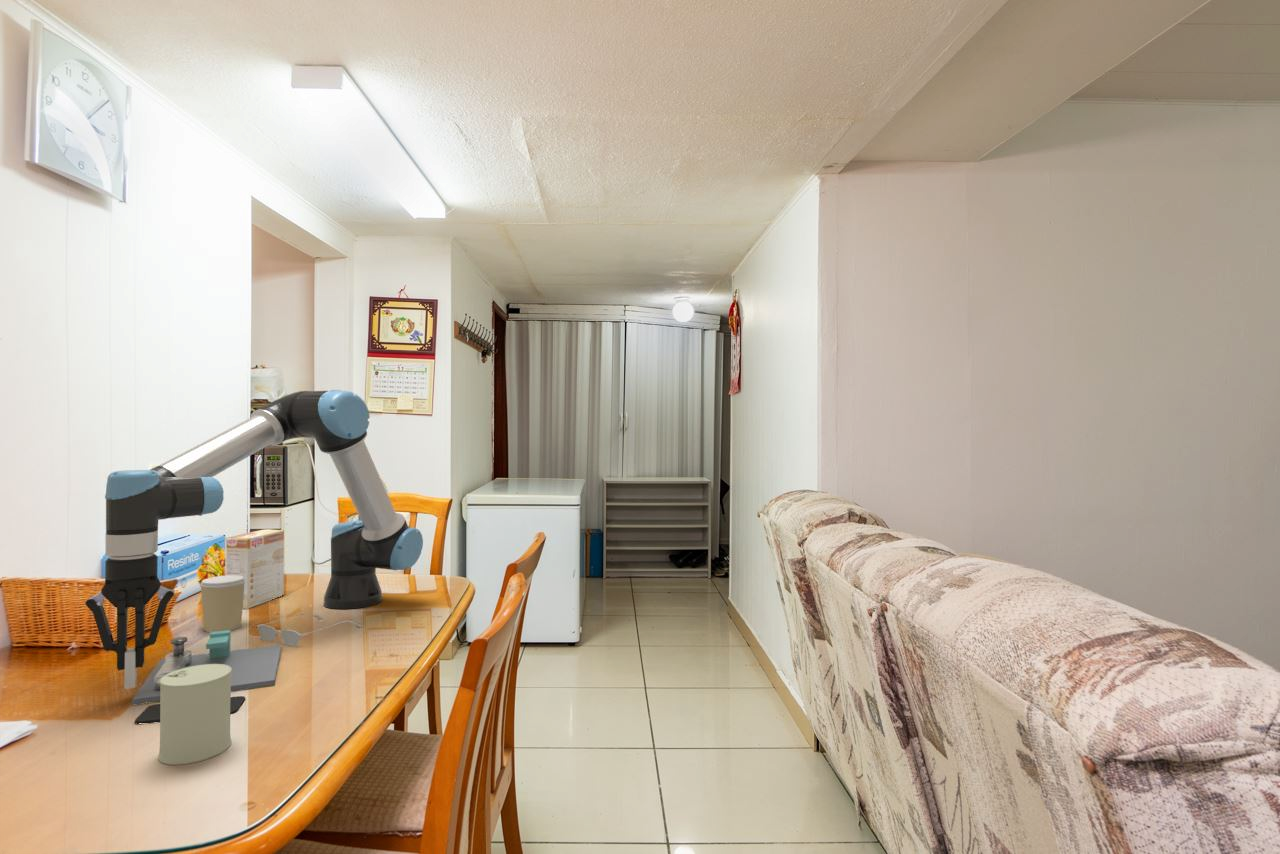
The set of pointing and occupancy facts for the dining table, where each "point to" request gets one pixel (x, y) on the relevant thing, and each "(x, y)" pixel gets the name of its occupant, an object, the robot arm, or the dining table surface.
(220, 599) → the coffee cup
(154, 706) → the phone
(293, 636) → the eyeglasses
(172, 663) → the link
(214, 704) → the can
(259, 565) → the coffeecake box
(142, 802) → the dining table surface
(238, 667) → the board
